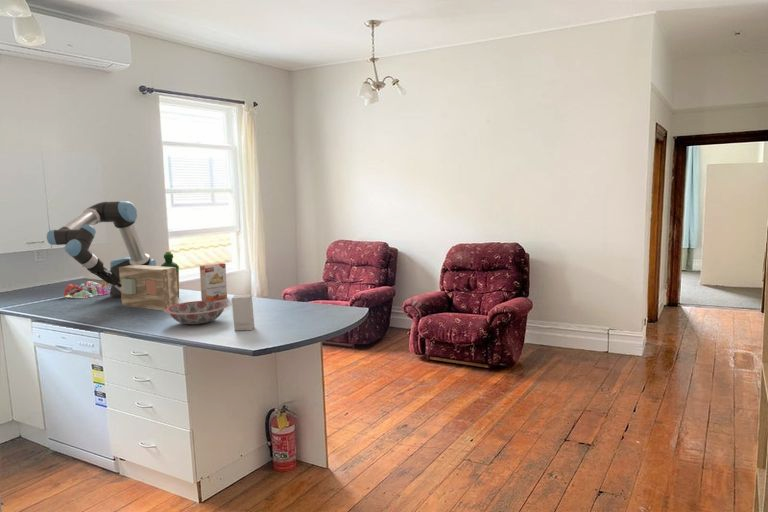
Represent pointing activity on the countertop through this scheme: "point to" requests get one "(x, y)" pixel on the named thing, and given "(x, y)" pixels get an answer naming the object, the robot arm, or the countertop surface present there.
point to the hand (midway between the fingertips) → (123, 289)
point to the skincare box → (243, 312)
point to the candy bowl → (87, 289)
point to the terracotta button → (151, 287)
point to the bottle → (171, 265)
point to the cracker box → (213, 281)
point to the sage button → (129, 285)
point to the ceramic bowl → (196, 311)
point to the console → (140, 273)
